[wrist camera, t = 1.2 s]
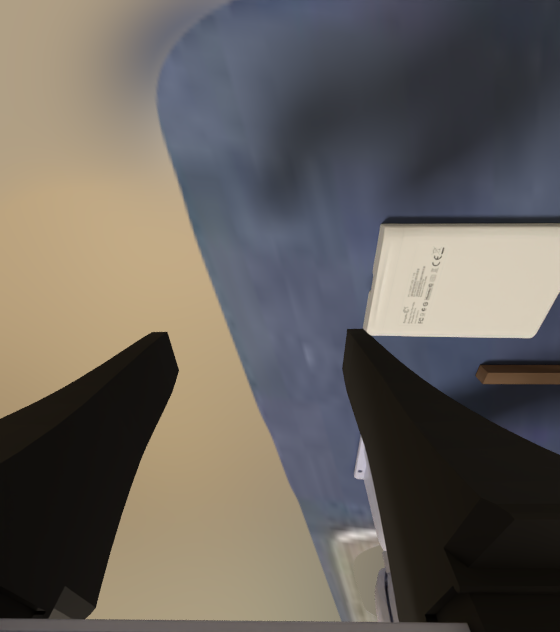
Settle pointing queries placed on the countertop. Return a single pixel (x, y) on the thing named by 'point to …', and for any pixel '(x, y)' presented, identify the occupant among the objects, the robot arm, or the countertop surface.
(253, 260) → the countertop surface
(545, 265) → the external hard drive
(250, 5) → the countertop surface
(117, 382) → the robot arm
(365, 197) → the countertop surface
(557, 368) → the dock
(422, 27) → the countertop surface
